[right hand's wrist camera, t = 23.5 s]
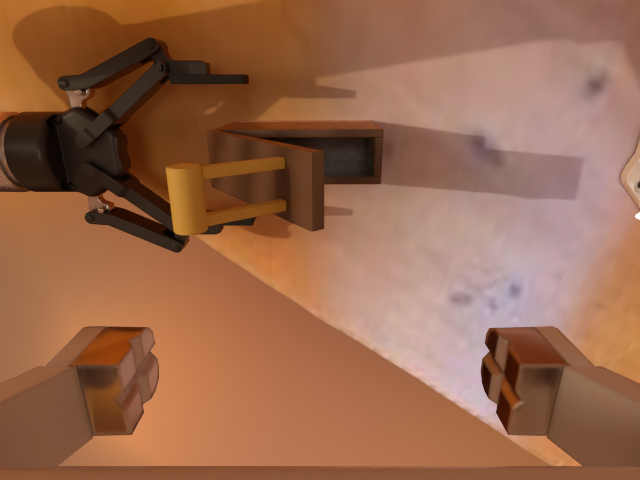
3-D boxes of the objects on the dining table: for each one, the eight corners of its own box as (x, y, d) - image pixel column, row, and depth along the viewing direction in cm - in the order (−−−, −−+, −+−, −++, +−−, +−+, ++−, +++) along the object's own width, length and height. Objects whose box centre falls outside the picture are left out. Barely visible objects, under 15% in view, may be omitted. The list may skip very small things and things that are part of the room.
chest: (370, 120, 46) (383, 129, 37) (369, 165, 48) (380, 184, 38) (234, 120, 46) (213, 129, 37) (237, 165, 48) (217, 184, 38)
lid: (324, 150, 25) (185, 166, 20) (324, 228, 27) (196, 259, 22) (217, 130, 37) (113, 136, 32) (221, 185, 38) (124, 199, 34)
